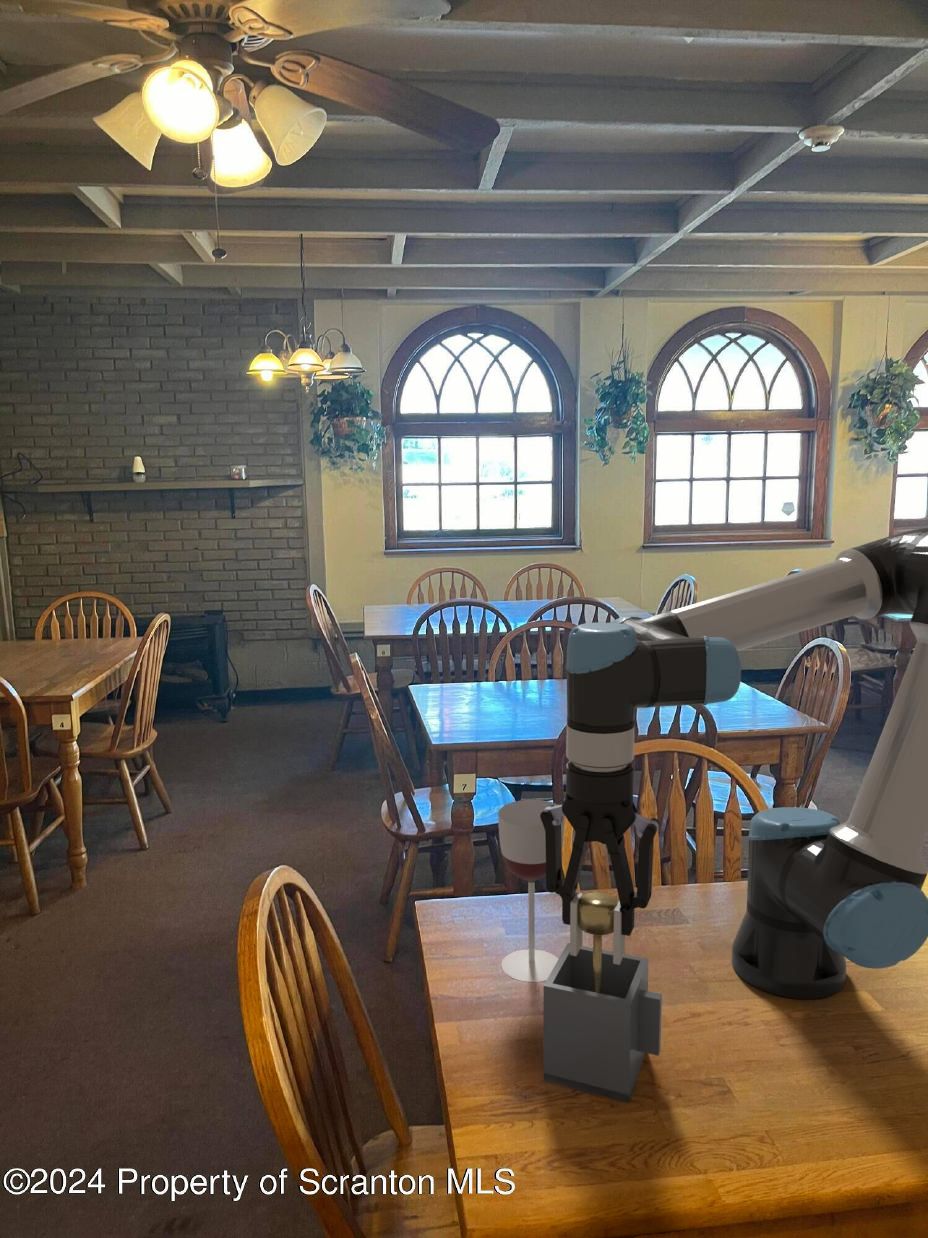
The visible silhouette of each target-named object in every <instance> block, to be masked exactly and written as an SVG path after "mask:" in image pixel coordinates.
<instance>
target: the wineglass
mask: <svg viewBox="0 0 928 1238" xmlns="http://www.w3.org/2000/svg"><path fill="white" fill-rule="evenodd" d="M549 804H552V805H554V806H558V805H559V804H557V803H555V802H551V801H548V800H543V799H542V800H541V799H522V800H517V801H512V802H510V803H507V804H505V805H503V806H502V807H500V809H499V810H498V812H497V816H498V817H497V819H498V837H499V844H500V852H501V855H502V858H503V861H504V864H505V865H506V867H507V869H508V871H510V872H511V874H513V875H514V876H515V877H517V878H519V879H521V880H524V881H526V882H527V883H528V885H527V886H528V888H527V889H528V891H527V892H528V896H527V897H528V899H527V900H528V901H527V902H528V918H527V919H528V949H519V950H516V951H513V952H511V953H508V954H507V955H506V956H505V957H503V959H502V961H501V969H502V970H503V973H505V974H506V975H507V976H509V977H510V978H513V979H515V980H517V981H520V982H527V983H539V982H544V981H545V982H546V980H547V979H548V977H549V975H550V973H551V972H552V970H553V968H554V966H555V965H556V963H557V961H558V959H559V957H557V956H556V955H554V954H553V953H551V952H548V951H545V950H541V949H536V948H535V946H536V941H535V937H536V936H535V935H536V934H535V931H536V930H535V929H536V928H535V927H536V926H535V925H536V924H535V923H536V922H535V919H536V915H535V914H536V913H535V910H536V907H535V906H536V905H535V900H536V899H535V896H536V895H535V889H536V887H535V881H538V880H541V879H543V878H546V839H545V829H544V826H543V823H542V821H541V818H540V814H541V813H542V811H543V810H544V809H545V808H546V807H547V806H548V805H549ZM565 818H566V817H565V815H563V821H562V823H561V838H562V847H563V845H564V834H565V822H566V821H565Z"/></svg>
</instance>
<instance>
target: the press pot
mask: <svg viewBox="0 0 928 1238" xmlns="http://www.w3.org/2000/svg"><path fill="white" fill-rule="evenodd" d="M542 999H543V1003H542V1004H543V1008H542V1009H543V1010H542V1011H543V1017H542V1018H543V1019H542V1021H543V1026H542V1027H543V1032H542V1033H543V1037H542V1038H543V1039H542V1040H543V1047H542V1048H543V1054H542V1055H543V1060H542V1061H543V1062H542V1063H543V1072H542V1073H543V1082H545V1083H551V1084H552V1085H553V1084H554V1085H558V1086H562V1087H564V1088H565V1087H566V1088H570V1089H573V1090H576V1091H577V1090H578V1091H581V1092H585V1093H589V1094H593V1095H596V1096H600V1097H604V1098H608V1099H613V1100H616V1101H620V1102H623V1103H624V1102H625V1103H627V1102H628V1103H627V1104H630V1103H631V1098H632V1096H633V1093H634V1089H635V1087H636V1083H637V1081H638V1078H639V1074H640V1071H641V1068H642V1065H643V1063H644V1062H643V1061H644V1059H645V1056H646V1054H648V1055H653V1056H658V1057H659V1056H660V1053H661V1050H662V1049H661V1045H662V1044H661V1043H662V1040H661V1039H662V1007H663V1006H662V1005H663V1003H662V1001H663V994H662V993H659V992H654V991H649V958H648V957H647V958H646V957H641V956H636V955H631V954H626V953H625V954H624V956H623V958H622V961H621V963H620V965H618V964H613V951H611V950H606V949H602V987H601V994H600V993H595V992H593V947H590V946H586V945H582V947H581V948H580V950H579V952H578V954H577V956H573V955H570V942H568V943H566V945H565V947H564V949H563V951H562V953H561V954H560V956H559V957H558V961H557V963H556V965H555V966H554V968H553V970H552V972H551V973H550V975H549V977H548V979H547V980H546V981H545V982H544V984H543V998H542Z"/></svg>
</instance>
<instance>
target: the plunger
mask: <svg viewBox="0 0 928 1238" xmlns="http://www.w3.org/2000/svg"><path fill="white" fill-rule="evenodd" d="M617 903H618V900H617V899H616V897H614V896H613V895H611V894H609V893H605V892H599V891H598V892H596V891H595V892H588V893H583V895H582V896H581V897H580V898H579V927H580V929H581V930H583V932H585V933H587V934H589V935H593V938H592V942H593V943H592V945H593V946H592V948H593V992H595V993H600V994H601V987H602V950H603V936H605V935H606V936H607V935H611V934H612V933H613V934H614V909H615V907H616V906H617Z"/></svg>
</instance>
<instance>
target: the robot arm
mask: <svg viewBox="0 0 928 1238" xmlns="http://www.w3.org/2000/svg"><path fill="white" fill-rule="evenodd" d="M897 614H898V615H899V614H900V615H912V616H911V619H910V621H909V627H910V628H911V629H910V630H911V631H912V633H913V635H914V637H915V639H916V644H915V646H914V649H913V651H912V654H911V657H910V659H909V661H908V662H909V663H908V665H907V667H906V669H905V672H904V675H903V677H902V680H901V683H900V685H899V687H898V690H897V693H896V695H895V698H894V700H893V703H892V705H891V707H890V711H889V714H888V716H887V719H886V722H885V724H884V726H883V729H882V732H881V734H880V736H879V739H878V740H877V741H878V742H877V744H876V747H875V749H874V752H873V754H872V758H871V760H870V762H869V765H868V767H867V770H866V773H865V775H864V778H863V781H862V783H861V786H860V788H859V790H858V794H857V796H856V798H855V801H854V804H853V806H852V809H851V811H850V814H849V817H848V819H847V820H846V821H845V822H843V823H841V822H840V819H839V818H838V817H837V816H835V814H832V813H830V812H827V811H823V810H820V809H814V808H807V807H797V806H796V807H795V806H794V807H793V806H790V807H789V806H788V807H787V806H784V807H782V806H781V807H774V808H773V807H772V808H768V809H764V810H761V811H758V812H757V813H756V814H754V816H753V817H752V818H751V820H750V826H749V832H748V836H747V841H748V855H747V856H748V860H747V885H746V886H747V888H746V893H747V894H746V911H745V914H744V915H743V919H742V921H741V923H740V926H739V928H738V931H737V933H736V936H735V938H734V939H733V943H732V948H731V949H732V950H731V964H732V968H733V969H734V971H735V972H736V973H737V975H738V976H739V977H740V978H741V979H742V980H744V981H745V982H747V983H748V984H750V985H752V986H753V987H755V988H757V989H759V990H762V991H763V992H766V993H768V994H769V993H770V994H771V995H776V996H779V997H784V998H790V999H798V1000H799V999H800V1000H815V999H823V998H826V997H830V996H832V995H833V996H834V995H836V993H838V992H839V991H841V990H842V989H843V988H844V986H845V984H846V978H847V961H846V959H847V960H849V961H850V962H851V963H853V964H855V965H857V966H859V967H862V968H866V969H875V970H877V969H887V968H890V967H894V966H896V965H897V964H898V963H900V962H903V961H904V962H905V961H907V960H909V959H910V958H911V957H912V956H913V955H915V954H916V953H917V952H918V951H919V950H920V949H921V948H922V946H923V945H924V943H925V942H926V941H927V939H928V897H927V895H926V894H925V892H924V891H923V886H924V883H925V881H926V878H927V876H928V866H927V863H926V862H925V860H924V857H923V855H922V849H923V846H924V843H925V841H926V838H927V836H928V527H923V528H917V529H912V530H908V531H907V530H906V531H903V532H901V533H900V532H899V533H897V534H893V535H890V536H886V537H884V538H883V537H882V538H880V539H877V540H873V541H870V542H867V543H864V544H861V545H857V546H853V547H851V548H847V549H845V550H843V551H840V552H839V553H838V554H837V556H836V557H835V560H833V561H831V562H828V563H825V564H822V565H819V566H814V567H812V568H808V569H805V570H802V571H798V572H795V573H791V574H787V575H785V576H783V577H782V576H781V577H779V578H775V579H772V580H769V581H765V582H762V583H759V584H755V585H752V586H747V587H745V588H741V589H739V590H735V591H733V592H728V593H726V594H723V595H719V596H716V597H713V598H712V597H711V598H709V599H706V600H703V601H699V602H696V603H693V604H689V605H685V606H683V607H680V608H676V609H673V610H669V611H666V612H663V613H659V614H655V615H651V616H647V617H645V618H642V617H640V616H622V617H618V618H617V619H614V620H612V621H611V622H599V621H598V622H588V623H586V622H585V623H582V624H579V625H576V626H575V627H573V628H572V629H571V630H570V631H569V634H568V638H567V649H566V661H565V662H566V663H565V670H566V712H567V713H566V737H565V738H566V739H565V743H566V745H565V746H566V747H565V749H566V751H565V755H566V756H565V757H566V758H567V759H568V762H567V763H566V765H565V767H566V768H565V770H566V771H565V783H566V784H565V799H564V800H563V801H562V804H557V805H558V806H554V805H552V804H549V805H548V806H547V807H546V808H545V809H544V810H543V811H542V813H541V814H540V818H541V821H542V823H543V826H544V829H545V839H546V876H545V881H546V882H545V883H546V884H545V887H546V891H548V893H550V894H553V893H554V894H557V895H558V896H560V898H561V900H562V901H561V902H562V903H561V904H562V905H561V920H562V923H563V925H569V926H570V927H569V928H570V931H569V932H570V933H569V934H570V935H569V938H570V939H569V943H570V955H573V956H577V954H578V952H579V950H580V948H581V947H582V946H583V932H584V931H583V930H581V929H580V927H579V898H580V897H581V896H582V895H584V893H582V892H576V891H577V889H578V888H579V882H580V878H581V877H580V876H581V873H582V870H583V865H584V861H585V858H586V857H585V856H586V854H587V850H588V845H589V843H593V842H598V843H600V844H602V845H603V844H604V845H606V846H605V847H606V849H607V850H606V851H607V853H608V855H609V857H610V862H611V866H612V872H613V878H614V882H615V886H616V891H617V896H618V900H617V906H616V907H615V909H614V932H613V941H612V942H613V943H612V945H613V948H612V949H613V951H612V952H613V964H618V965H620V963H621V961H622V958H623V956H624V954H626V953H625V952H626V936H627V937H631V934H632V932H633V930H634V928H635V909H638V908H639V909H646V908H647V907H648V904H649V902H650V899H651V898H652V886H653V885H652V884H653V869H654V867H653V866H654V865H653V863H654V861H653V860H654V841H655V840H654V839H655V836H656V834H657V833H658V830H659V828H660V825H661V823H660V821H659V819H658V818H656V817H652V818H651V819H649V818H647V817H645V816H643V815H641V814H639V813H638V809H637V807H636V805H635V801H634V781H635V780H634V774H635V773H634V770H635V769H634V767H635V766H634V765H633V764H632V762H633V760H634V759H635V726H636V725H635V724H636V723H635V721H636V718H635V717H636V709H646V708H662V707H663V708H665V707H678V706H679V707H680V706H696V705H702V706H707V705H710V704H711V705H712V704H717V703H722V702H724V703H725V702H728V701H730V700H732V699H733V697H735V695H736V694H737V693H738V690H739V688H740V686H741V683H742V682H741V681H742V680H741V679H742V664H741V659H740V655H739V652H740V651H743V650H747V649H750V648H752V647H756V646H759V645H763V644H765V643H768V642H772V641H775V640H779V639H782V638H785V637H788V636H791V635H795V634H798V633H801V632H804V631H808V630H810V629H814V628H818V627H821V626H824V625H828V624H831V623H833V622H837V621H841V620H843V619H847V618H850V617H853V616H854V617H855V618H858V619H860V620H869V619H873V618H876V617H879V616H884V615H897ZM563 815H565V818H566V820H567V821H568V822H569V824H570V825H571V827H572V828H573V830H574V831H575V834H574V839H573V842H572V849H571V853H570V857H569V860H568V865H567V869H566V873H565V878H564V879H563V859H562V858H563V857H562V855H563V854H562V853H563V846H562V838H561V823H562V821H563ZM632 825H634V826H635V828H636V830H635V831H636V832H635V833H636V836H637V837H638V838H640V840H639V842H638V843H639V844H638V854H637V855H638V857H637V858H638V859H637V863H638V864H637V881H636V882H637V883H636V892H635V888H634V883H633V878H632V873H631V869H630V864H629V859H628V855H627V850H626V846H625V845H626V839H625V835H624V834H626V832H627V831H629V828H630V827H631V826H632Z"/></svg>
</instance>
